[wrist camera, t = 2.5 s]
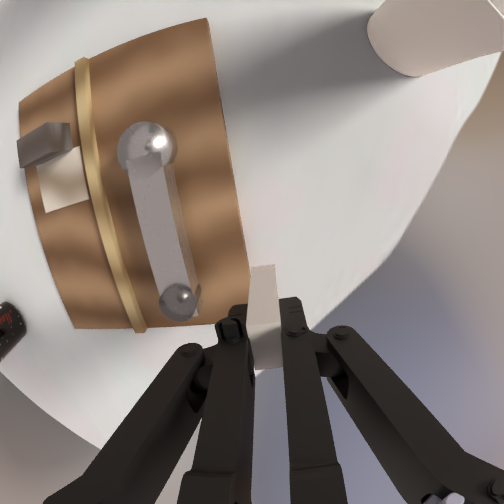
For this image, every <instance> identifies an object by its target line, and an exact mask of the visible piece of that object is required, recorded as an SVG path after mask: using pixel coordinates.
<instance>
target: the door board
mask: <svg viewBox="0 0 504 504" xmlns="http://www.w3.org/2000/svg"><path fill="white" fill-rule="evenodd" d="M19 121H20V135H21V138H20V139H19V140H17V149H18V158H19V165H20V168H25V174H26V180H27V186H28V191H29V196H30V200H31V205H32V209H33V213H34V217H35V221H36V225H37V229H38V232H39V236H40V239H41V243H42V246H43V249H44V252H45V255H46V258H47V261H48V264H49V267H50V270H51V273H52V276H53V278H54V281H55V284H56V286H57V289H58V291H59V294H60V296H61V299H62V301H63V303H64V306H65V308H66V310H67V312H68V315H69V317H70V319H71V321H72V323H73V325H74V327H75V328H76V329H120V328H133V329H134V331H135V333H145V331H146V329H147V328H154V327H175V326H191V325H205V324H216V323H217V322H218V321H219V320H221V319H223V318H226V317H228V312H229V310H230V308H231V307H232V306H233V305H238V304H247V303H248V298H249V287H250V277H251V276H250V270H249V264H248V258H247V253H246V247H245V241H244V235H243V229H242V223H241V218H240V212H239V206H238V200H237V194H236V188H235V182H234V176H233V170H232V164H231V158H230V152H229V146H228V140H227V134H226V128H225V122H224V116H223V110H222V104H221V98H220V92H219V85H218V79H217V73H216V67H215V61H214V54H213V48H212V42H211V35H210V29H209V23H208V21H207V18H203V19H198V20H194V21H190V22H186V23H183V24H179V25H175V26H172V27H169V28H165V29H162V30H159V31H156V32H153V33H150V34H147V35H144V36H142V37H139V38H136V39H134V40H131V41H128V42H126V43H123V44H121V45H119V46H116V47H114V48H112V49H109V50H107V51H105V52H103V53H101V54H99V55H97V56H94V57H92V58H90V59H87V58H85V57H83V58H81V59H79V60H78V61H76V62H75V67H73V68H71V69H70V70H68V71H66V72H64V73H63V74H61V75H59V76H58V77H56V78H54V79H53V80H51V81H49V82H48V83H46V84H45V85H43V86H42V87H40V88H39V89H37V90H36V91H34V92H33V93H31V94H30V95H29V96H27V97H26V98H24V99H23V100H22V101H20V102H19ZM138 122H151V123H156V124H161V125H164V126H166V127H167V128H169V129H170V130H171V131H172V132H173V134H174V135H175V137H176V140H177V146H178V148H177V155H176V158H175V160H174V162H173V169H174V174H175V179H176V184H177V190H178V195H179V199H180V204H181V209H182V214H183V218H184V223H185V228H186V232H187V236H188V241H189V245H190V249H191V254H192V258H193V262H194V266H195V270H196V274H197V278H198V282H199V284H200V286H201V291H202V293H201V294H202V297H203V301H204V303H203V306H202V308H201V311H200V314H199V316H192V317H191V318H190V319H189V320H187V321H184V322H176V321H173V320H170V319H169V318H167V317H166V316H165V315H164V314H163V313H162V312H161V310H160V307H159V298H160V294H159V291H158V288H157V285H156V282H155V278H154V275H153V272H152V268H151V265H150V261H149V258H148V254H147V251H146V247H145V243H144V240H143V236H142V232H141V228H140V224H139V220H138V216H137V212H136V207H135V203H134V199H133V194H132V189H131V185H130V180H129V175H128V174H127V173H126V172H125V171H124V170H123V169H122V167H121V166H120V164H119V161H118V157H117V146H118V142H119V139H120V137H121V136H122V134H123V133H124V131H125V130H126V129H127V128H128V127H130V126H131V125H133V124H135V123H138Z"/></svg>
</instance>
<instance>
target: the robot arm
mask: <svg viewBox="0 0 504 504" xmlns="http://www.w3.org/2000/svg"><path fill="white" fill-rule="evenodd" d="M215 329H216V333H217V337H218V344H216V345H214V346H211V347H208V348H205V349H202V346H201V345H199V344H197V343H188V344H184V345H182V346H180V347H179V348H178V349H177V350H176V351H175V352H174V354H173V355H172V356H171V358H170V359H169V360H168V362H167V363H166V364H165V366H164V367H163V368H162V370H161V371H160V372H159V374H158V375H157V376H156V378H155V379H154V380H153V382H152V383H151V384H150V386H149V387H148V388H147V390H146V391H145V392H144V394H143V395H142V396H141V398H140V399H139V400H138V402H137V403H136V404H135V406H134V407H133V408H132V410H131V411H130V412H129V414H128V415H127V416H126V418H125V419H124V420H123V422H122V423H121V424H120V426H119V427H118V428H117V429H116V431H115V432H114V433H113V435H112V436H111V437H110V439H109V440H108V441H107V443H106V444H105V445H104V447H103V448H102V449H101V451H100V452H99V453H98V455H97V456H96V457H95V459H94V460H93V461H92V463H91V464H90V465H89V467H88V468H87V470H86V471H85V472H84V474H83V475H82V476H81V477H79V478H77V479H76V480H75V481H73V482H71V483H70V484H68V485H67V486H65V487H64V488H62V489H61V490H59V491H57V492H56V493H54V494H53V495H51V496H49V497H48V498H46V500H44V502H43V504H155V502H156V500H157V498H158V496H159V495H160V493H161V491H162V489H163V488H164V486H165V484H166V482H167V481H168V479H169V477H170V475H171V473H172V471H173V470H174V468H175V466H176V464H177V463H178V461H179V459H180V457H181V455H182V454H183V451H184V450H185V448H186V446H187V444H188V442H189V441H190V439H191V437H192V435H193V433H194V431H195V429H196V427H197V425H198V424H199V422H200V420H201V418H202V421H201V426H200V430H199V435H198V441H197V446H196V450H195V455H194V460H193V465H192V469H191V470H190V471H187V472H185V474H184V475H183V478H182V481H181V486H180V491H179V496H178V500H177V504H252V502H251V479H252V455H253V428H254V400H255V374H254V367H255V370H261V369H271V368H280V367H283V370H284V384H285V397H286V412H287V426H288V444H289V460H290V461H289V462H290V498H291V504H348V502H347V496H346V491H345V484H344V479H343V473H342V469H341V466H340V464H339V463H338V461H337V457H336V451H335V446H334V441H333V435H332V430H331V425H330V420H329V415H328V411H327V405H326V401H325V396H324V391H323V386H322V382H321V377H320V376H322V377H327V380H328V382H329V383H330V385H331V387H332V388H333V390H334V391H335V393H336V394H337V396H338V398H339V399H340V401H341V402H342V404H343V405H344V407H345V408H346V410H347V412H348V413H349V415H350V417H351V418H352V419H353V421H354V423H355V424H356V426H357V427H358V429H359V430H360V432H361V434H362V435H363V437H364V439H365V440H366V442H367V443H368V445H369V446H370V448H371V450H372V451H373V453H374V454H375V456H376V457H377V459H378V460H379V462H380V464H381V465H382V467H383V468H384V470H385V471H386V473H387V475H388V476H389V478H390V479H391V481H392V482H393V484H394V485H395V487H396V489H397V490H398V492H399V493H400V495H401V496H402V497H403V499H404V500H405V501H406V502H407V503H408V504H504V470H502V469H500V468H498V467H495V466H493V465H491V464H489V463H487V462H485V461H483V460H481V459H479V458H477V457H475V456H473V455H471V454H469V453H467V452H465V451H464V450H463V449H462V448H461V447H460V445H459V444H458V443H457V442H456V441H455V440H454V439H453V437H452V436H451V435H450V434H449V433H448V432H447V430H446V429H445V428H444V427H443V426H442V425H441V424H440V423H439V421H438V420H437V419H436V418H435V417H434V416H433V415H432V414H431V412H430V411H429V410H428V409H427V408H426V407H425V406H424V405H423V404H422V402H421V401H420V400H419V399H418V398H417V397H416V396H415V395H414V393H412V391H411V390H410V389H409V388H408V387H407V386H406V385H405V384H404V383H403V381H402V380H401V379H400V378H399V377H398V376H397V375H396V374H395V373H394V372H393V370H392V369H390V367H389V366H388V365H387V364H386V363H385V362H384V361H383V360H382V359H381V357H380V356H379V355H378V354H377V353H376V352H375V351H374V350H373V349H372V348H371V347H370V346H369V345H368V344H367V343H366V342H365V340H364V339H363V338H362V337H361V336H360V335H359V334H358V333H357V332H356V331H355V330H354V329H353V328H351V327H349V326H336V327H333V328H331V329H330V330H329V331H328V332H327V334H318V333H314V332H312V331H310V330H309V328H308V327H307V323H306V319H305V315H304V311H303V307H302V303H301V300H299V299H298V298H297V297H290V298H283V299H279V295H278V287H277V280H276V272H275V265H267V266H259V267H252V268H251V277H250V287H249V298H248V303H247V304H238V305H233V306H232V307H231V308H230V310H229V312H228V317H226V318H223V319H221V320H219V321H218V322H217V323H216V324H215Z"/></svg>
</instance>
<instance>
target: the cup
mask: <svg viewBox="0 0 504 504" xmlns="http://www.w3.org/2000/svg"><path fill="white" fill-rule="evenodd" d="M367 34H368V38H369V41H370V43H371V45H372V47H373V49H374V50H375V52H376V53H377V55H378V56H379V57H380V58H381V59H382V60H383V61H384V62H385V63H386V64H387V65H388V66H390V67H391V68H392V69H394V70H396V71H397V72H399V73H401V74H404V75H407V76H412V77H420V76H424V75H427V74H429V73H432V72H435V71H438V70H441V69H443V68H446V67H449V66H452V65H455V64H458V63H462V62H465V61H468V60H471V59H475V58H478V57H482V56H485V55H489V54H493V53H496V52H500V51H504V0H386V1H385V2H384V3H383V4H382V5H381V6H380V7H379V8H378V9H377V10H376V11H375V13H374V14H373V15H372V16H371V17H370V19H369V21H368V24H367Z"/></svg>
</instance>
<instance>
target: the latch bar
mask: <svg viewBox="0 0 504 504" xmlns="http://www.w3.org/2000/svg"><path fill="white" fill-rule="evenodd" d="M177 148H178V146H177V140H176V137H175V135H174V134H173V132H172V131H171V130H170V129H169V128H167V127H166V126H164V125H161V124H156V123H151V122H138V123H135V124H133V125H131V126H130V127H128V128H127V129H126V130H125V131H124V133H123V134H122V136H121V137H120V139H119V142H118V146H117V157H118V161H119V164H120V166H121V167H122V169H123V170H124V171H125V172H126V173H127V174H128V175H129V180H130V185H131V189H132V194H133V199H134V203H135V207H136V212H137V216H138V220H139V224H140V228H141V232H142V236H143V240H144V243H145V247H146V251H147V254H148V258H149V261H150V265H151V268H152V272H153V275H154V278H155V282H156V285H157V288H158V291H159V294H160V298H159V307H160V310H161V312H162V313H163V314H164V315H165V316H166V317H167V318H169V319H170V320H173V321H176V322H184V321H187V320H189V319H190V318H191V317H192V316H199V314H200V311H201V308H202V306H203V303H204V301H203V297H202V294H201V293H202V291H201V286H200V284H199V282H198V278H197V274H196V270H195V266H194V262H193V258H192V254H191V249H190V245H189V241H188V236H187V232H186V228H185V223H184V218H183V214H182V209H181V204H180V199H179V195H178V190H177V184H176V179H175V174H174V169H173V162H174V160H175V158H176V155H177Z"/></svg>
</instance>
